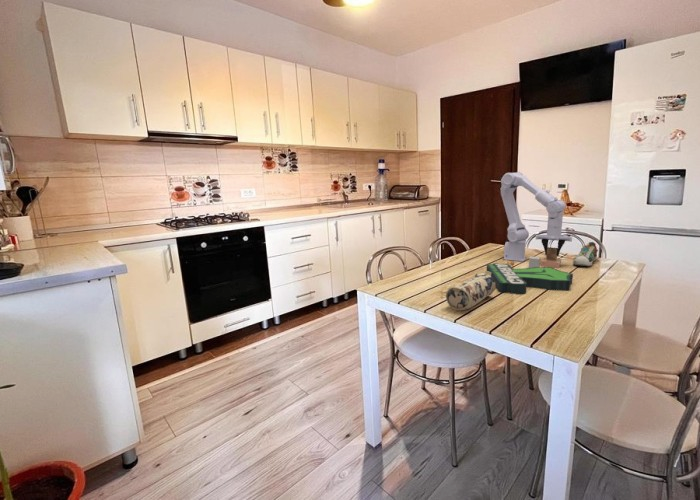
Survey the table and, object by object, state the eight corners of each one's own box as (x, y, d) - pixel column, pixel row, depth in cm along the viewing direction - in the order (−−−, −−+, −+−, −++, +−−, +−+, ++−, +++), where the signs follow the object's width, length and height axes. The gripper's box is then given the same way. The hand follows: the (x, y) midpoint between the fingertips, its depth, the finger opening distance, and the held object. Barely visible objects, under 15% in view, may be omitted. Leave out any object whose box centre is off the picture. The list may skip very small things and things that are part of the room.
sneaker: (569, 266, 157) (571, 246, 155) (580, 258, 172) (582, 239, 170) (588, 269, 152) (590, 247, 150) (598, 260, 167) (600, 240, 165)
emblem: (485, 263, 155) (557, 264, 149) (485, 272, 156) (557, 273, 149) (500, 283, 126) (591, 285, 120) (500, 294, 127) (589, 297, 121)
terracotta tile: (541, 267, 160) (541, 260, 159) (544, 263, 165) (544, 257, 164) (558, 269, 155) (558, 262, 155) (560, 265, 161) (561, 259, 160)
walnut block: (546, 259, 159) (547, 248, 158) (547, 257, 162) (548, 247, 161) (556, 260, 156) (557, 249, 155) (556, 258, 160) (557, 248, 159)
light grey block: (528, 268, 157) (529, 258, 156) (530, 266, 160) (530, 256, 159) (538, 269, 155) (539, 259, 153) (539, 267, 158) (540, 257, 157)
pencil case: (473, 292, 129) (474, 268, 127) (496, 297, 123) (497, 271, 121) (443, 309, 114) (444, 282, 112) (467, 316, 108) (468, 287, 106)
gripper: (535, 227, 157) (533, 255, 160) (572, 228, 149) (569, 258, 152) (537, 225, 163) (535, 252, 166) (573, 226, 154) (570, 255, 157)
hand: (551, 255), depth 159 cm, fingers closed on walnut block, 4 cm apart
